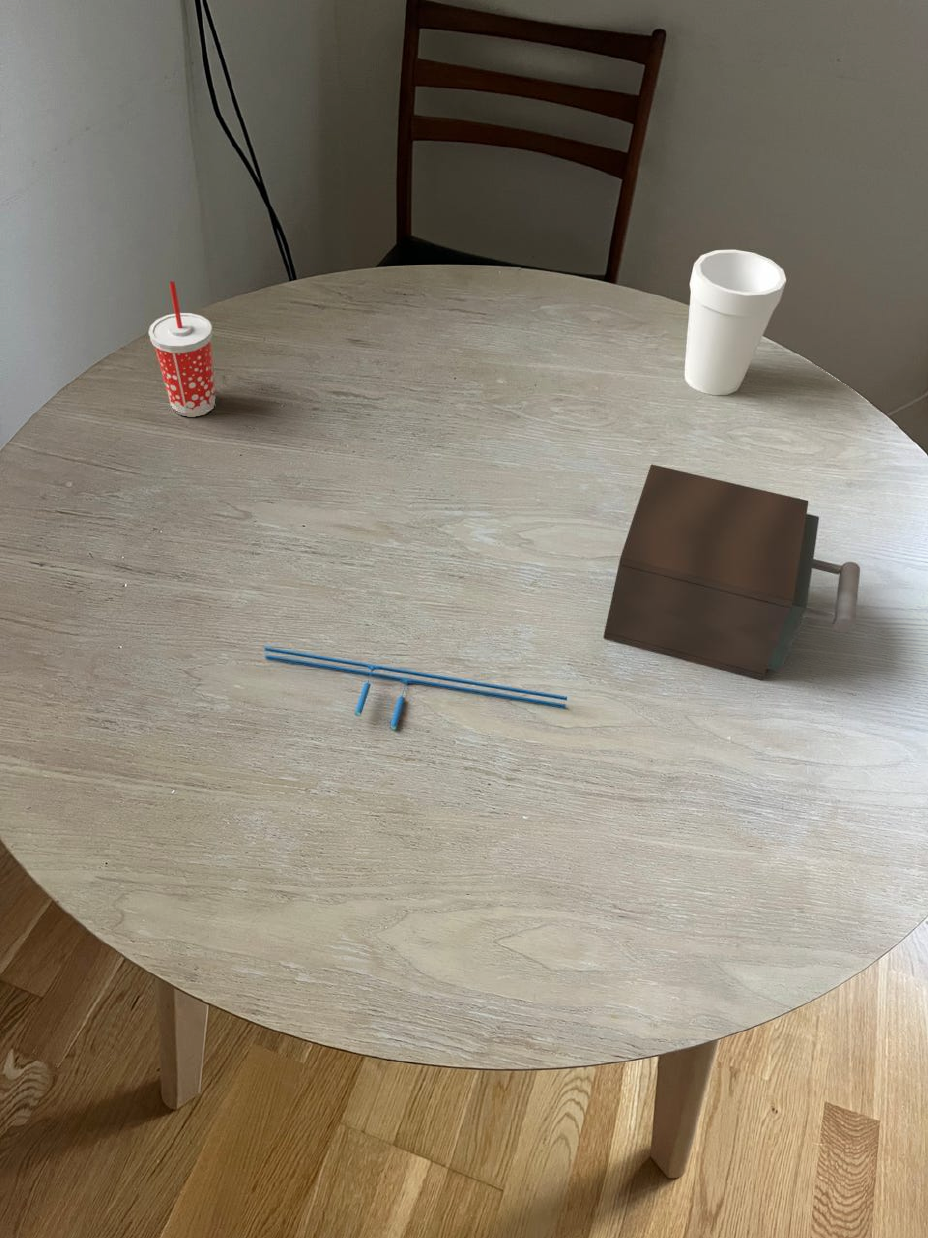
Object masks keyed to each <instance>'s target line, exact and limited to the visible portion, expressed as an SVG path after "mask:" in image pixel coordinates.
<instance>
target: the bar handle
mask: <svg viewBox="0 0 928 1238" xmlns="http://www.w3.org/2000/svg"><path fill="white" fill-rule="evenodd" d="M263 649H264V650H263V651H264V652H270V653H276V654H281V655H282V654H283V655H288V656H289V655H290V656H293V657H301V658H305V659H306V658H307V659H314V660H319V661H324V662H331V663H335V664H337V663H338V664H344V665H348V666H349V665H350V666H354V667H355V666H356V667H361V668H366V669H370V671H367V670H360V669H354V668H348V667H342V666H337V665H330V664H325V663H318V662H312V661H308V660H307V661H306V660H300V659H294V658H288V657H283V656H277V655H272V654H271V655H269V654H265V655H264V656H265V657H264V658H265V659H266V660H272V661H278V662H285V663H290V664H296V665H302V666H309V667H313V668H314V667H315V668H320V669H326V670H333V671H339V672H345V673H350V674H356V675H362V676H368V677H369V678H368V681H367V682H364V684H363V687H362V690H361V693H360V697H359V699H358V702H357V705H356V709H355V711H354V715H355V716H356V717H361V716H362V712H363V710H364V707H365V703H366V701H367V698H368V694H369V692H370V688H371V683H369V682H370V679H371V677H374V678H381V679H387V680H393V681H399V682H401V683H403V684H404V687H403V688H404V689H403V691H402V693H401V694H402V695H400V696H398V698H397V701H396V705H395V709H394V712H393V715H392V719H391V721H390V726H389V728H390V730H392V731H394V730H397V727H398V724H399V720H400V717H401V713H402V710H403V706H404V703H405V700H406V699H405V697H404V693H405V689H406V686H407V685H408V684H417V685H422V686H423V685H424V686H428V687H435V688H441V689H446V690H448V689H449V690H453V691H459V692H465V693H471V694H477V695H483V696H489V697H495V698H501V699H507V700H513V701H520V702H524V703H531V704H537V705H544V706H548V707H549V706H550V707H556V708H562V709H566V706H567V704H566V703H561V702H555V701H549V700H542V699H536V698H531V697H525V696H517V695H511V694H506V693H500V692H494V691H488V690H482V689H475V688H469V687H463V686H457V685H451V684H445V683H439V682H434V681H427V680H421V679H414V678H409V677H403V676H395V675H392V674H391V675H390V674H385V673H379V672H375V671H378V670H379V671H384V672H392V673H398V674H404V675H410V676H415V677H422V678H427V679H432V680H433V679H434V680H440V681H445V682H446V681H447V682H452V683H456V684H457V683H458V684H463V685H470V686H476V687H482V688H489V689H494V690H495V689H496V690H499V691H500V690H501V691H507V692H512V693H519V694H524V695H531V696H537V697H541V698H542V697H543V698H550V699H553V700H554V699H555V700H562V701H568V696H566V695H559V694H554V693H553V694H552V693H549V692H548V693H547V692H541V691H536V690H531V689H530V690H529V689H524V688H519V687H518V688H516V687H511V686H506V685H505V686H504V685H500V684H493V683H487V682H480V681H475V680H469V679H464V678H458V677H457V678H456V677H451V676H444V675H439V674H433V673H426V672H422V671H421V672H419V671H414V670H408V669H402V668H397V667H390V666H385V665H384V666H383V665H378V664H373V663H372V664H371V663H365V662H359V661H353V660H347V659H342V658H336V657H329V656H323V655H317V654H310V653H304V652H300V651H299V652H298V651H293V650H287V649H281V648H275V647H269V646H264V647H263Z"/></svg>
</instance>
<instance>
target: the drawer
mask: <svg viewBox="0 0 928 1238" xmlns="http://www.w3.org/2000/svg"><path fill="white" fill-rule="evenodd" d="M819 522H820V516H818V515H814V514H810V513H807V515H806V522H805V528H804V535H803V541H802V548H801V554H800V561H799V567H798V574H797V581H796V587H795V594H794V600H793V603H792V606H791V608H790V611H789V613H788V616H787V618H786V621H785V623H784V626H783V629H782V631H781V634H780V636H779V639H778V641H777V644H776V646H775V649H774V651H773V654H772V656H771V659H770V661H769V664H768V666H767V669H766V670H770V671H774V672H778V673H780V672H781V671H782V669H783V666H784V665H785V661H786V659H787V657H788V654H789V652H790V649H791V647H792V644H793V642H794V639H795V637H796V634H797V632H798V629H799V627H800V625H801V622H802V621H803V618H804V617H805V618H810V619H814V620H818V621H821V622H824V623H825V622H826V623H829V624H833V628H834V629H835V630H837V631H838V632H839V633H851V632H852V631H853V630H854V629H855V627H856V621H857V620H856V618H857V609H858V608H857V607H858V598H859V587H860V578H861V577H860V576H861V567H860V565H859V563H856V562H853V561H846V562H844V563H842V564H836V563H832V562H828V561H824V560H819V559H816V558H814V557H815V551H816V543H817V536H818V530H819V529H818V528H819ZM813 570H817V571H822V572H826V573H830V574H833V575H839V576H838V583H837V584H838V585H837V592H836V602H835V611H834V613H833V612H830V611H825V610H820V609H816V608H813V607H809V606H808V599H809V593H810V587H811V579H812V572H813Z"/></svg>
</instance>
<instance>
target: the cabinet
mask: <svg viewBox="0 0 928 1238" xmlns="http://www.w3.org/2000/svg"><path fill="white" fill-rule="evenodd" d="M808 508H809V500H807V499H806V500H805V499H802V498H798V497H794V496H790V495H784V494H781V493H776V492H772V491H768V490H763V489H759V488H755V487H750V486H746V485H743V484H742V485H741V484H737V483H734V482H730V481H725V480H721V479H716V478H712V477H708V476H704V475H699V474H694V473H691V472H687V471H681V470H677V469H674V468H669V467H665V466H661V465H656V464H653V463H652V464H650V466H649V468H648V472H647V475H646V478H645V481H644V484H643V487H642V489H641V494H640V497H639V500H638V502H637V505H636V508H635V511H634V514H633V517H632V520H631V524H630V526H629V530H628V533H627V535H626V539H625V542H624V544H623V548H622V551H621V554H620V557H619V562H618V566H617V571H616V575H615V580H614V586H613V591H612V595H611V599H610V605H609V609H608V614H607V619H606V624H605V628H604V632H603V639H605V640H609V641H613V642H617V643H620V644H624V645H626V646H627V645H628V646H631V647H635V648H638V649H643V650H646V651H650V652H654V653H658V654H661V655H665V656H669V657H673V658H677V659H680V660H683V661H687V662H691V663H695V664H698V665H702V666H707V667H709V668H714V669H718V670H720V671H721V670H722V671H726V672H729V673H733V674H737V675H740V676H744V677H747V678H751V679H755V680H759V681H762V680H763V679H764V676H765V673H766V671H767V670H768V669H767V666H768V664H769V661H770V659H771V656H772V654H773V651H774V649H775V646H776V644H777V641H778V639H779V636H780V634H781V631H782V629H783V626H784V623H785V621H786V618H787V616H788V613H789V611H790V608H791V606H792V603H793V600H794V594H795V587H796V581H797V574H798V567H799V561H800V554H801V548H802V541H803V535H804V528H805V522H806V515H807V514H808Z"/></svg>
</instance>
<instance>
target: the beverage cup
mask: <svg viewBox="0 0 928 1238" xmlns="http://www.w3.org/2000/svg"><path fill="white" fill-rule="evenodd" d="M169 288H170V295H171V298H172V304H173V310H174V313H170V314H167V315H164V316H161V317H160V318H157V319H156V320H155V321H154V322H153V323H152V324H150V326H149V329H148V337H149V340H150V342H151V344H152V346H153V347H154V349H155V353H156V357H157V360H158V364H159V367H160V371H161V375H162V378H163V383H164V387H165V389H166V393H167V397H168V401H169V404H170V407H171V406H172V408H173V409H175V410H176V411H178V412H181V413H201V412H203V411H204V412H205V411H206V410H208V409H210V408H211V407H212V406H213V405H214V404H215V399H216V389H215V387H216V386H215V376H214V364H213V352H212V337H213V325H212V324H211V322H210V320H209V319H207V318H206V317H204V316H202V315H200V314H196V313H191V312H181V311H180V305H179V299H178V294H177V288H176V281H174V280H171V281H169ZM216 400H217V399H216ZM215 405H216V404H215ZM172 408H171V409H172Z"/></svg>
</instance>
